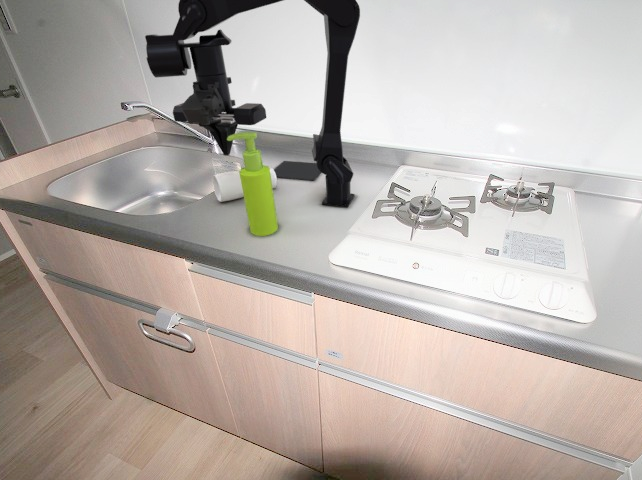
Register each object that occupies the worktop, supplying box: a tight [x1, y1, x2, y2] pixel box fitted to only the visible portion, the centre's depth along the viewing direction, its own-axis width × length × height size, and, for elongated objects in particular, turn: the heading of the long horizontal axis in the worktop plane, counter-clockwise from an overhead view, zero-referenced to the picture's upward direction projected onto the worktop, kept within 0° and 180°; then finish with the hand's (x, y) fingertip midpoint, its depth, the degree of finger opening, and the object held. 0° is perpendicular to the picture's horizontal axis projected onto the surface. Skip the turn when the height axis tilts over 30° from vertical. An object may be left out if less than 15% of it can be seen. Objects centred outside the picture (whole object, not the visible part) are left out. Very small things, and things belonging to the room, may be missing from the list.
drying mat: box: [273, 160, 322, 182], centre depth 104 cm, size 12×14×1 cm
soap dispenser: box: [227, 131, 279, 237], centre depth 72 cm, size 6×7×20 cm
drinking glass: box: [211, 167, 278, 203], centre depth 91 cm, size 7×7×15 cm
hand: (227, 154), depth 78 cm, fingers closed
